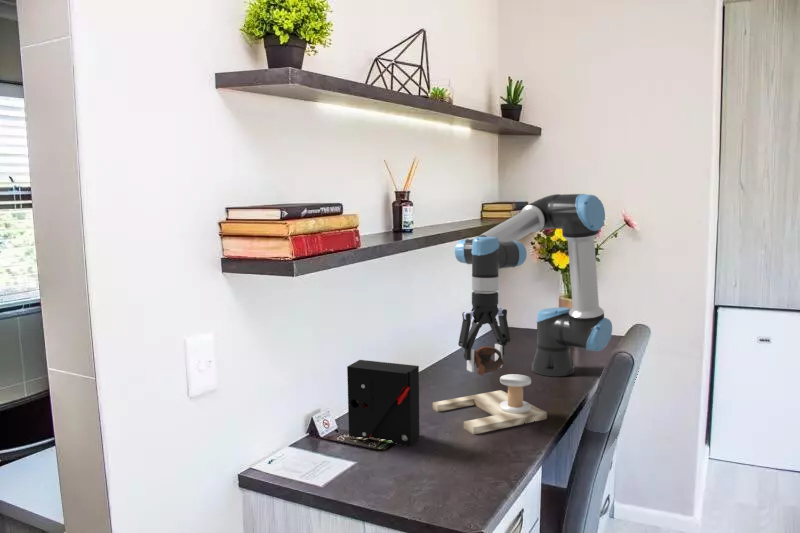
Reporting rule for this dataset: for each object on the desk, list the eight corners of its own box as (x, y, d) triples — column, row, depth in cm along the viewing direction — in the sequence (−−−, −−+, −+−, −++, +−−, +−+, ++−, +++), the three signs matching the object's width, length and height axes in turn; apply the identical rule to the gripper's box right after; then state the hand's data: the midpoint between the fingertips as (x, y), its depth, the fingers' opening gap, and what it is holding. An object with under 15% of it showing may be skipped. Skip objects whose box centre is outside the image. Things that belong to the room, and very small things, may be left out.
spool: (518, 401, 192) (518, 372, 191) (537, 410, 184) (537, 380, 183) (493, 406, 188) (494, 376, 187) (511, 415, 180) (512, 385, 179)
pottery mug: (505, 369, 185) (509, 349, 180) (494, 391, 178) (498, 370, 173) (467, 355, 189) (469, 335, 184) (455, 376, 182) (457, 356, 177)
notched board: (500, 396, 203) (500, 390, 203) (546, 418, 182) (546, 412, 182) (432, 408, 192) (432, 402, 192) (473, 434, 172) (473, 427, 171)
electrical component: (422, 435, 172) (421, 363, 169) (408, 449, 162) (407, 374, 160) (364, 426, 179) (363, 357, 176) (347, 439, 169) (346, 367, 167)
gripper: (508, 286, 187) (507, 361, 190) (445, 292, 178) (445, 370, 180) (524, 290, 180) (523, 367, 183) (459, 296, 171) (458, 377, 174)
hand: (484, 368), depth 182 cm, fingers closed on pottery mug, 9 cm apart
